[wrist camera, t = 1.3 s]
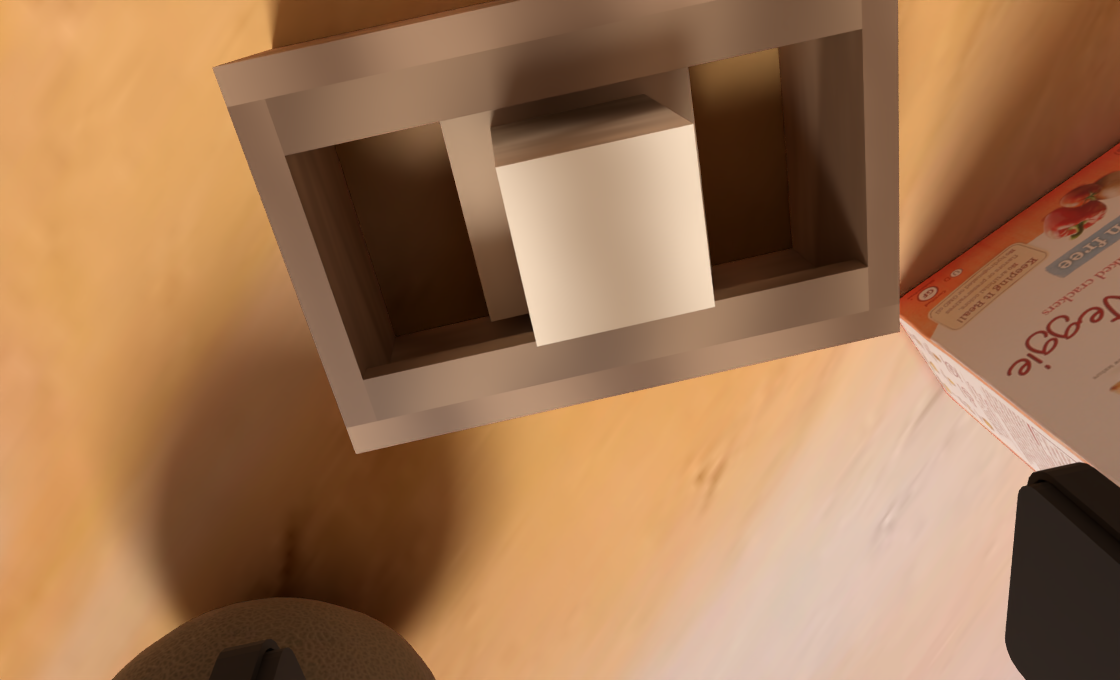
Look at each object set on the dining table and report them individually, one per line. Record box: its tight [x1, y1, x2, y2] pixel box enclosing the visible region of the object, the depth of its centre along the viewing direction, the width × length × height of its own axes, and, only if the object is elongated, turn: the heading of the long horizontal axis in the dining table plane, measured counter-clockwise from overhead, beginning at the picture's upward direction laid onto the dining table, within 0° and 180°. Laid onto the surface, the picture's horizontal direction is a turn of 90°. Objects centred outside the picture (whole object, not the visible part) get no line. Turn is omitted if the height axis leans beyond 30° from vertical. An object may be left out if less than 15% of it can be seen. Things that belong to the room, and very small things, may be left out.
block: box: [490, 94, 715, 347], centre depth 23 cm, size 5×5×6 cm
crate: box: [213, 0, 900, 454], centre depth 25 cm, size 18×12×6 cm, turn 101°
